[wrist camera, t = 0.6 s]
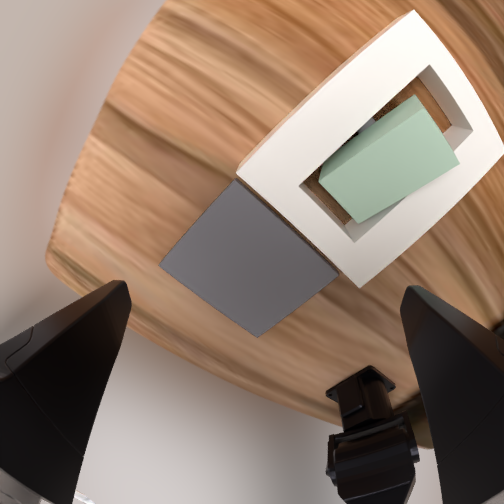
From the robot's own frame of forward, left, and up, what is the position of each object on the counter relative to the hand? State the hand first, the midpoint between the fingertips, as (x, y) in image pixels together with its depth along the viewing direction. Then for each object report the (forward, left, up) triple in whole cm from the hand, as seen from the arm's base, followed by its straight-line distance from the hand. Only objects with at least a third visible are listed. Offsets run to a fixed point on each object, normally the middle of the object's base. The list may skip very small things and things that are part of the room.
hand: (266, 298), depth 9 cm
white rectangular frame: (-4, -8, -14) cm, 16 cm away
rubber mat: (-4, +6, -14) cm, 15 cm away
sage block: (-4, -8, -12) cm, 15 cm away
